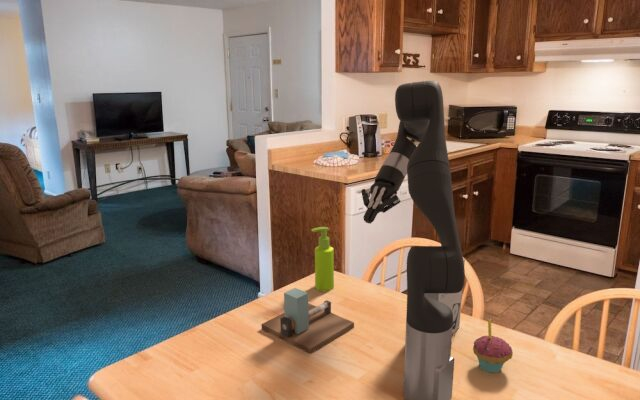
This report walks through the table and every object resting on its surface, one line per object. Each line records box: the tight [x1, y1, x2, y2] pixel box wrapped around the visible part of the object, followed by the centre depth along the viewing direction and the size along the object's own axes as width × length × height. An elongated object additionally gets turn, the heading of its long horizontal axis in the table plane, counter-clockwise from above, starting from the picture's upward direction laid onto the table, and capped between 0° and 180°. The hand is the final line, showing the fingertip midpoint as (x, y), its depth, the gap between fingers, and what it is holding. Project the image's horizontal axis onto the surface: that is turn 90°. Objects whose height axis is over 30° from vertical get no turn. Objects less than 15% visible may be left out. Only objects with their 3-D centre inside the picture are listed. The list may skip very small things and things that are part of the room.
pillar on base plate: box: [261, 299, 355, 355], centre depth 130 cm, size 18×17×6 cm
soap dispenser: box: [310, 226, 335, 292], centre depth 152 cm, size 6×7×20 cm
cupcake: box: [472, 315, 513, 374], centre depth 111 cm, size 9×8×12 cm
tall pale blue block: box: [283, 287, 309, 334], centre depth 126 cm, size 5×4×10 cm
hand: (367, 221), depth 136 cm, fingers closed
